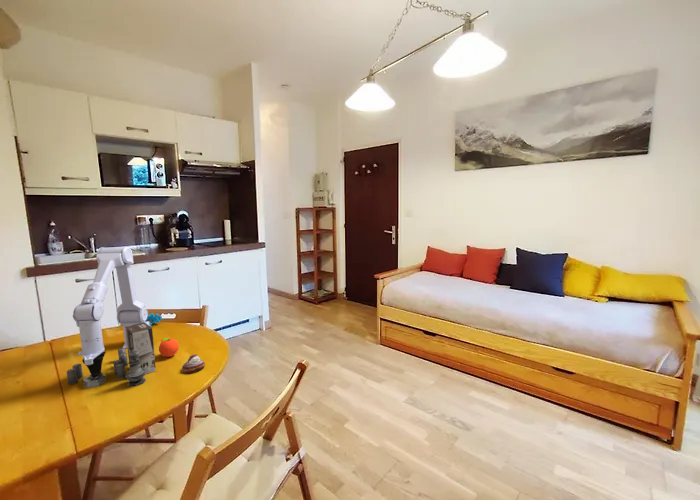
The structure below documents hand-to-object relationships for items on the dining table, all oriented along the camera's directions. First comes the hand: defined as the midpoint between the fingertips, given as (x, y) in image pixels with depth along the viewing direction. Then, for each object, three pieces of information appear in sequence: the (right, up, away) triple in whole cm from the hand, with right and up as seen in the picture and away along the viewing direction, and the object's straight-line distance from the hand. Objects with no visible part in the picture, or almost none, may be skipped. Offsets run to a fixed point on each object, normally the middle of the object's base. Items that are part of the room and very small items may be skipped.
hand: (96, 375), depth 112 cm
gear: (-10, +6, +46) cm, 48 cm away
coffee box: (+12, 0, +6) cm, 14 cm away
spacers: (-1, 0, +4) cm, 4 cm away
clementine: (+16, +1, +17) cm, 23 cm away
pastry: (+30, 0, +7) cm, 31 cm away
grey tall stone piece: (+15, -2, -2) cm, 16 cm away
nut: (+2, -2, -3) cm, 4 cm away
